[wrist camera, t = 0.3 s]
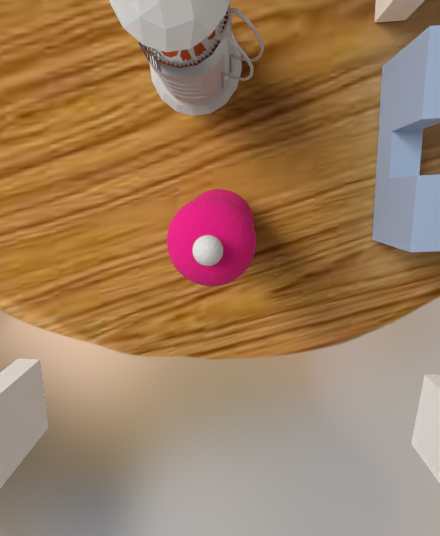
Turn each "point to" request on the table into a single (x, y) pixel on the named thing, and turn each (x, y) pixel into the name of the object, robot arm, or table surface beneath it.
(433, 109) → the blue batten
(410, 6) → the white notched block
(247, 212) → the pepper mill
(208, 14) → the french press
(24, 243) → the table surface
